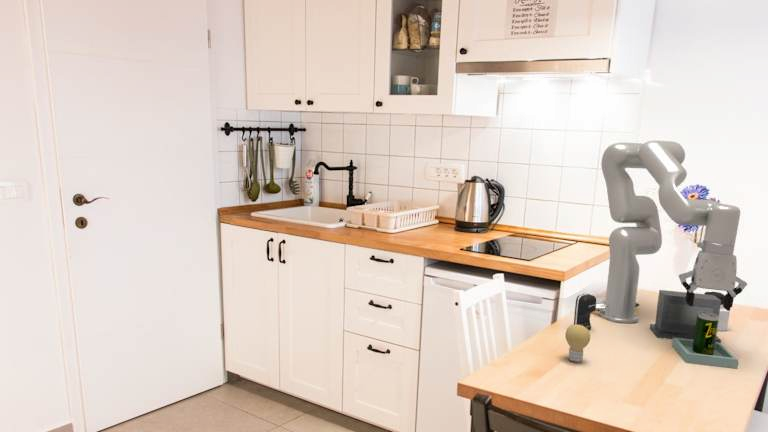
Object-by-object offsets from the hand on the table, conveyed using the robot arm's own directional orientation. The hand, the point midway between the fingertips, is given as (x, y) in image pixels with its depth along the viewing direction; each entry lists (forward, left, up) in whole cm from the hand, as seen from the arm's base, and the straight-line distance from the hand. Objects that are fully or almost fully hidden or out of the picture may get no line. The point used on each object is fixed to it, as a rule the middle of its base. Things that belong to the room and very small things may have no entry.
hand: (707, 307), depth 158 cm
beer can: (0, 0, -14) cm, 14 cm away
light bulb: (-37, -16, -15) cm, 42 cm away
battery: (-31, +11, -15) cm, 36 cm away
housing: (0, +16, -15) cm, 22 cm away
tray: (0, -1, -15) cm, 15 cm away
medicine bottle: (+12, +29, -15) cm, 35 cm away
